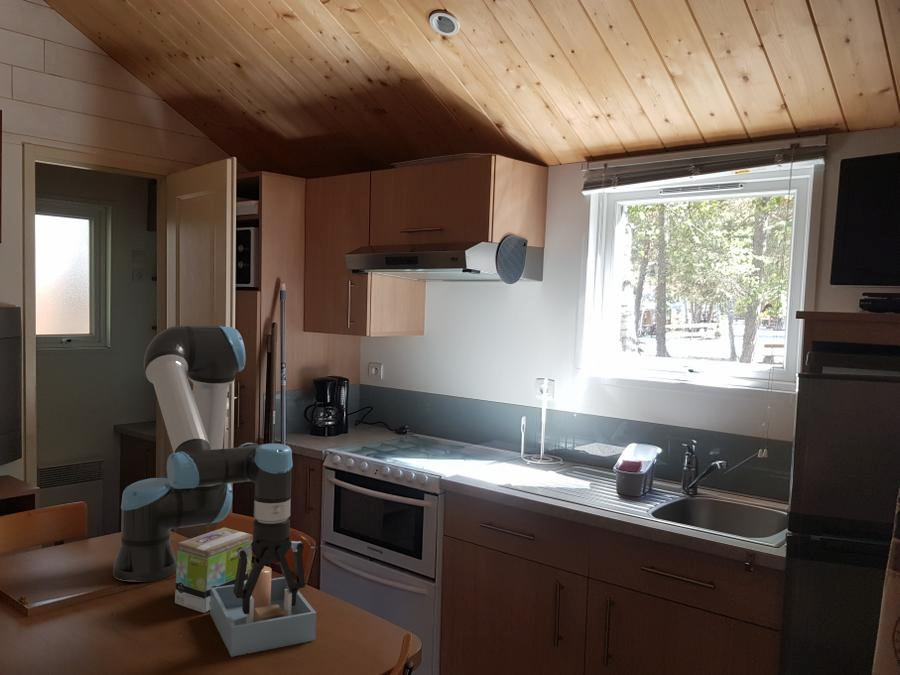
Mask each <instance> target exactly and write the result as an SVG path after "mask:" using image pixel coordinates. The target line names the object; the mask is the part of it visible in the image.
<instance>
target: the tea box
mask: <svg viewBox="0 0 900 675" xmlns="http://www.w3.org/2000/svg"><path fill="white" fill-rule="evenodd" d="M252 542H253V533H252V534H251V533H248V532H247V533H246V532H243V531H239V530H235V529H232V528H228V527H222V528H221V527H220V528H219V529H214V530H212V531H209V532H207V533H203V534H200V535H198V536H194V537H191V538H188V539H186V540H182V541H179V542H177V551H176V553H177V554H176V561H177V567H176V571H175V591H174V592H175V593H174V604H176V605H178V606H182V607H185V608H188V609H190V610H194V611H197V612H200V613H203V614H205V613H207V612H210V596H211V588H214V587H221V586H227V585H234V584H235V579H236V573H237V567H238V561H239V557H238V552H237V550H238V548H243V549H244V548H247V547H250V546H251V544H252ZM252 557H253V552H251V553H250V557H249V558H248V559H247V568H246V574H245V580H244V583H246V582H247V579H248V570H249V569H250V568H252V560H253V558H252Z"/></svg>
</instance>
